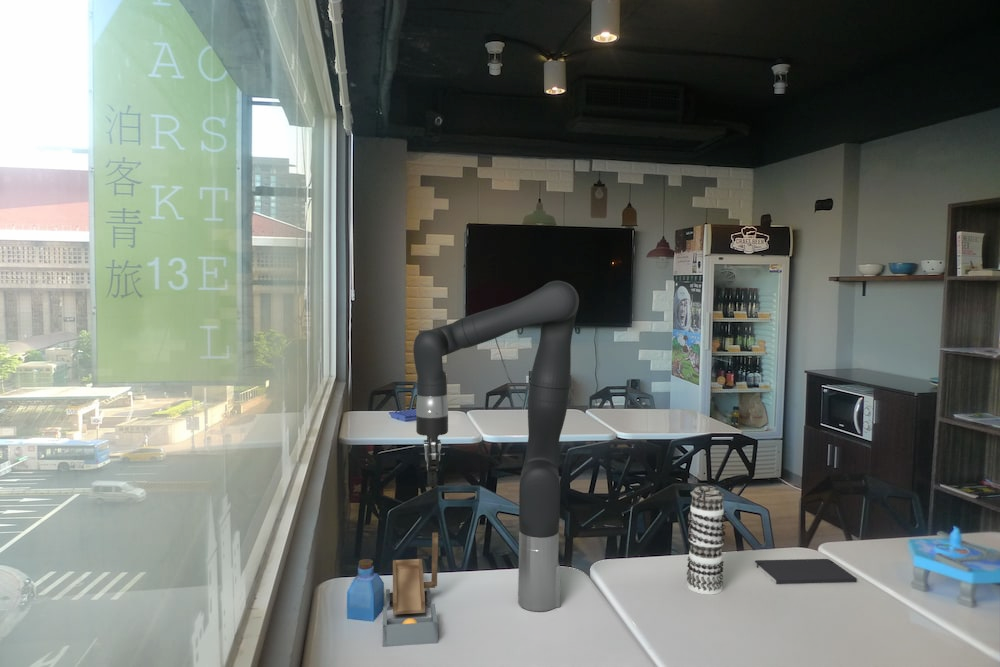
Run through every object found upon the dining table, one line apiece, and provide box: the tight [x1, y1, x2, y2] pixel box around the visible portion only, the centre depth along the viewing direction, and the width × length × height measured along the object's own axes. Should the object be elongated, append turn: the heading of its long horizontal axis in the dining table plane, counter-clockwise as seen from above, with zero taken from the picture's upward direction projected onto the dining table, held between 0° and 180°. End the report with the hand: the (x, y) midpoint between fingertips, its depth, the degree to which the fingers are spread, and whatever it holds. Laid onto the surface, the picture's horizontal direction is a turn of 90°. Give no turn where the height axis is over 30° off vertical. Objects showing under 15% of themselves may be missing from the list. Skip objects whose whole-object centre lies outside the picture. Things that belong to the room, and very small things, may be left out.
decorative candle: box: [686, 485, 728, 596], centre depth 169 cm, size 9×9×25 cm
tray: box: [382, 603, 439, 648], centre depth 145 cm, size 11×10×4 cm
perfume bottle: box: [346, 558, 385, 623], centre depth 154 cm, size 6×6×12 cm
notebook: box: [754, 558, 858, 585], centre depth 180 cm, size 13×2×21 cm
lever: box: [392, 532, 439, 616], centre depth 157 cm, size 10×17×14 cm, turn 9°
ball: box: [402, 617, 417, 624], centre depth 144 cm, size 4×4×4 cm
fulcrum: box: [385, 588, 431, 611], centre depth 159 cm, size 10×5×3 cm, turn 99°
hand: (432, 485), depth 164 cm, fingers closed
